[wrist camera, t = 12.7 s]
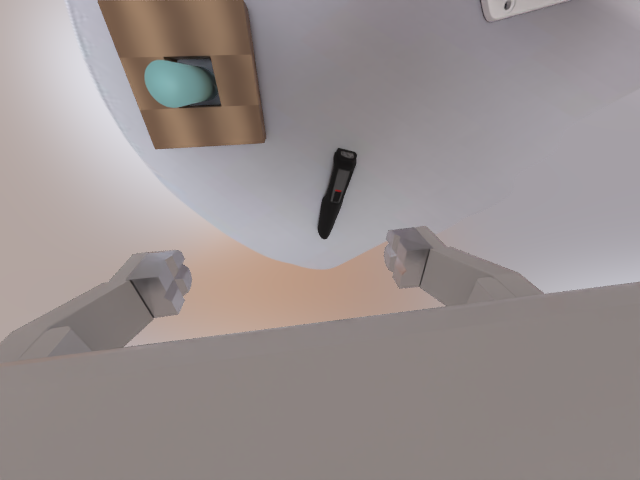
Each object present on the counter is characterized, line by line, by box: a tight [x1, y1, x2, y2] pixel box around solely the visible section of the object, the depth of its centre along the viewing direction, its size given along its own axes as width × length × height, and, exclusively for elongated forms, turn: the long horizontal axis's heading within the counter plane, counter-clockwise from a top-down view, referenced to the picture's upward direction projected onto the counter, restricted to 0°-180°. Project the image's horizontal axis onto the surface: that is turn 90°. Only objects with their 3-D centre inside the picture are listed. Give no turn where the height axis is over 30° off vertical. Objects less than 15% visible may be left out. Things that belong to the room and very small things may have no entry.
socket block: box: [97, 0, 266, 149], centre depth 30 cm, size 14×14×4 cm
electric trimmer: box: [318, 148, 357, 239], centre depth 41 cm, size 4×16×3 cm, turn 165°
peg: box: [144, 60, 218, 108], centre depth 27 cm, size 4×4×12 cm
